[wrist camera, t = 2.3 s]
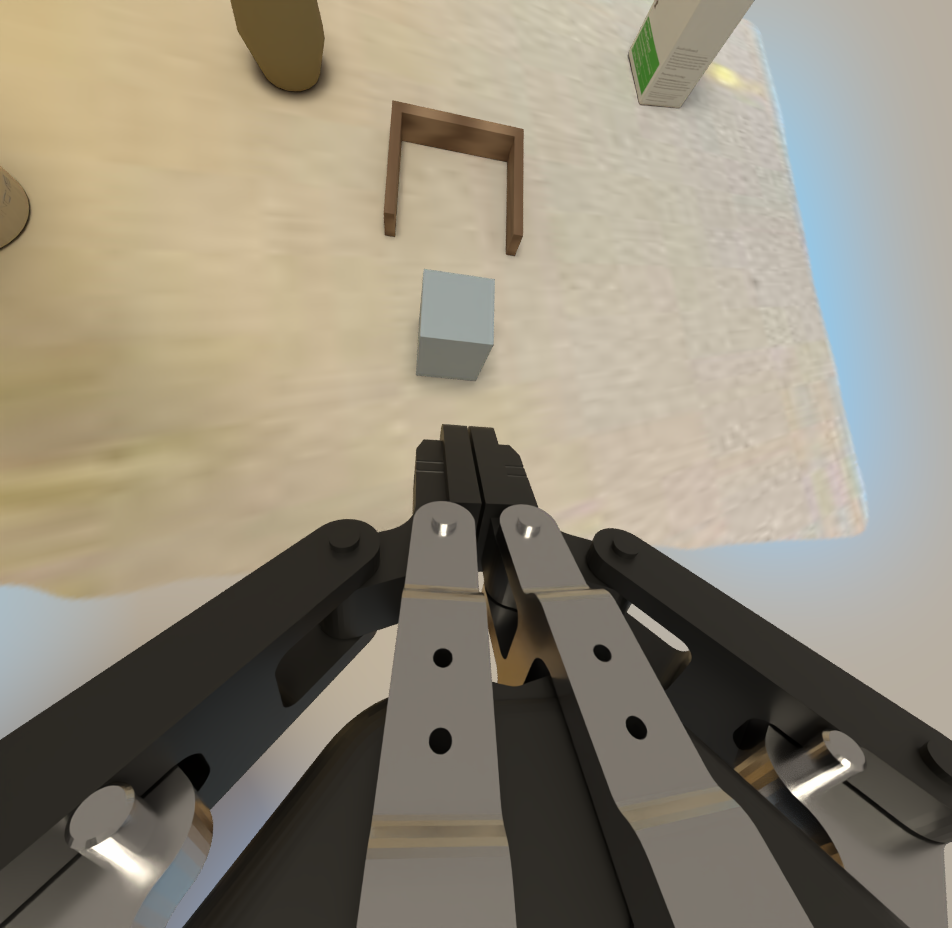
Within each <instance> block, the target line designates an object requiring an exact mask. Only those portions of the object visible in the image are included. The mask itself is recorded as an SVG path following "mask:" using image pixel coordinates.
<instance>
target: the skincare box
mask: <svg viewBox="0 0 952 928" xmlns="http://www.w3.org/2000/svg"><path fill="white" fill-rule="evenodd" d="M754 1H755V0H655V1H654V3H653V5H652V6H651V8H650V10H649V12H648V14H647V16H646V18H645V20H644V22H643V24H642V26H641V28H640V30H639V32H638V34H637V36H636V38H635V40H634V42H633V44H632V46H631V48H630V50H629V58H630V61H631V67H632V72H633V76H634V81H635V86H636V90H637V95H638V100H639V104H641V105H653V106H663V107H673V108H680V107H681V105H682V104H683V103H684V101H685V100H686V98H687V97H688V95H689V94H690V93H691V91H692V90H693V88H694V87H695V85H696V84H697V82H698V81H699V80H700V78H701V77H702V75H703V74H704V72H705V71H706V69H707V68H708V67H709V65H710V64H711V62H712V61H713V59H714V58H715V57H716V55H717V54H718V52H719V51H720V49H721V48H722V47H723V45H724V44H725V42H726V41H727V39H728V38H729V36H730V35H731V34H732V32H733V31H734V29H735V28H736V26H737V25H738V24H739V22H740V21H741V19H742V18H743V16H744V15H745V13H746V12H747V11H748V9H749V8H750V6H751V5H752V3H753V2H754Z"/></svg>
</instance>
